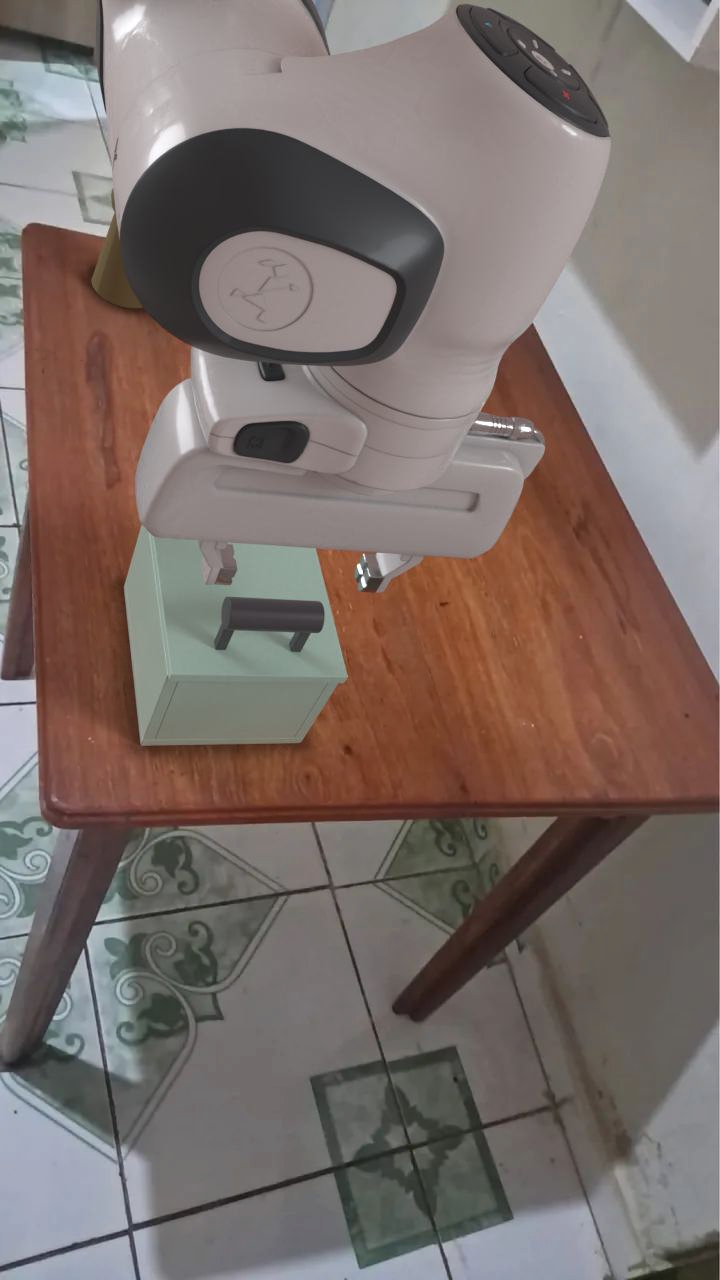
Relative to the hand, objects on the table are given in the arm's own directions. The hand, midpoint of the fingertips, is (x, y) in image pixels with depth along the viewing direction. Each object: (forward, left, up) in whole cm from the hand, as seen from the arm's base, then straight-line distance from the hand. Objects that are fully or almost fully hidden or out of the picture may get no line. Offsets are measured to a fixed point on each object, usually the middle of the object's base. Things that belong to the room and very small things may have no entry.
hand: (293, 580), depth 56 cm
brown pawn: (+18, +46, -17) cm, 52 cm away
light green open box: (+2, +5, -17) cm, 17 cm away
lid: (+2, +4, -8) cm, 9 cm away
